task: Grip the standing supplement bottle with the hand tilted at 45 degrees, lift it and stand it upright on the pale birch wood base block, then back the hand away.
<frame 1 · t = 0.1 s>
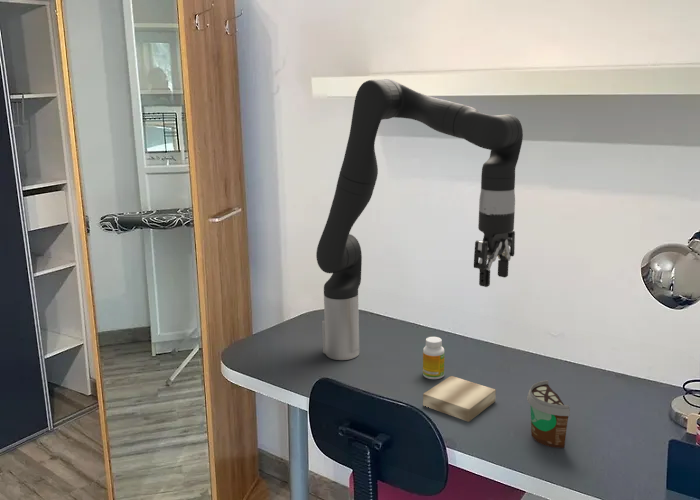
hand: (493, 281, 148), 29 cm above the table, tool pointing down, fingers open, 8 cm apart
supplement bottle: (433, 375, 169), on the table
base block: (459, 403, 154), on the table
food container: (541, 437, 140), on the table
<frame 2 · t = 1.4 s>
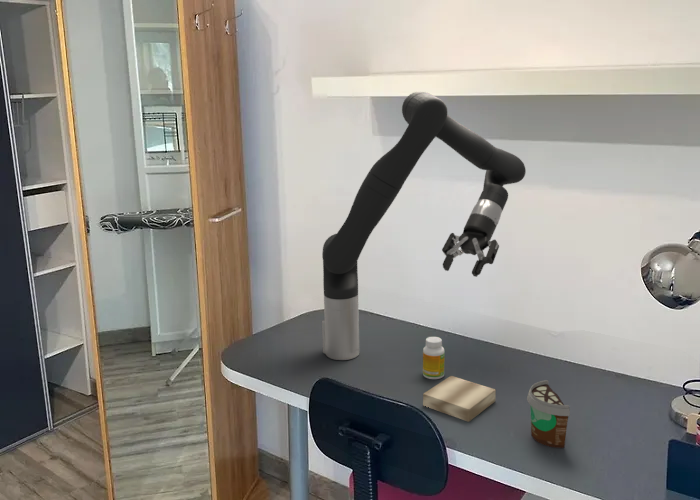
hand: (459, 272, 171), 24 cm above the table, tool tilted 45°, fingers open, 8 cm apart
nothing on the table moved.
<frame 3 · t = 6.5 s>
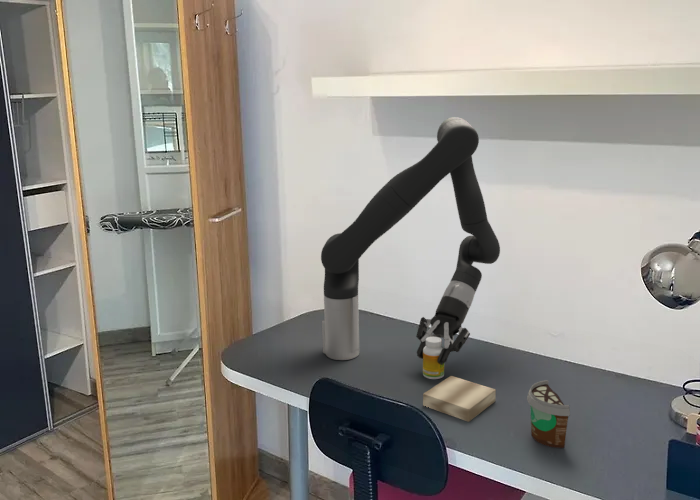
hand: (429, 360, 167), 5 cm above the table, tool tilted 45°, fingers closed on supplement bottle, 5 cm apart
supplement bottle: (433, 375, 169), on the table, touching gripper
everything else where it was.
when the fingers open (9 cm above the table, at t = 12.4 s): supplement bottle drops 1 cm, resting on base block.
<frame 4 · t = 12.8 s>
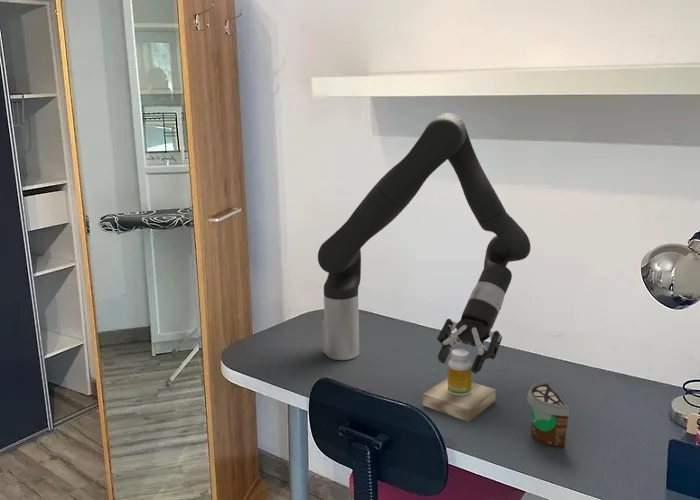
hand: (457, 366, 151), 10 cm above the table, tool tilted 45°, fingers open, 8 cm apart
supplement bottle: (459, 391, 154), point 3 cm above the table, touching base block
everything else where it was.
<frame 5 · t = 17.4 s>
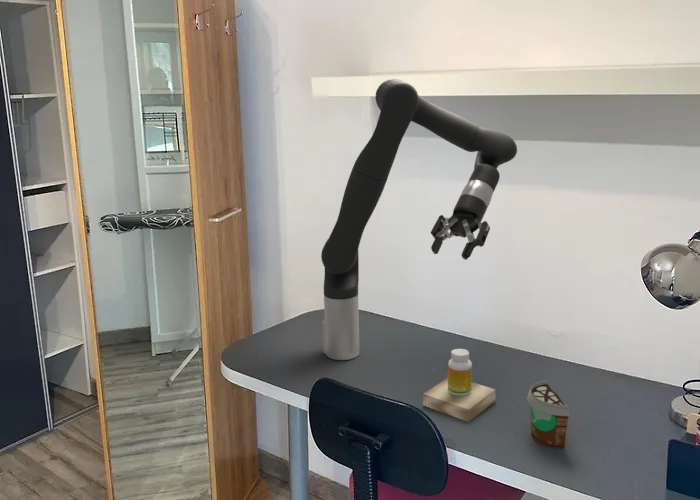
hand: (448, 255, 164), 31 cm above the table, tool tilted 45°, fingers open, 8 cm apart
nothing on the table moved.
at the end: supplement bottle inside the target area on the base block (0.3 cm from its centre), point 2.8 cm above the base block's base; supplement bottle tilted 0°; the gripper is holding nothing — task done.
